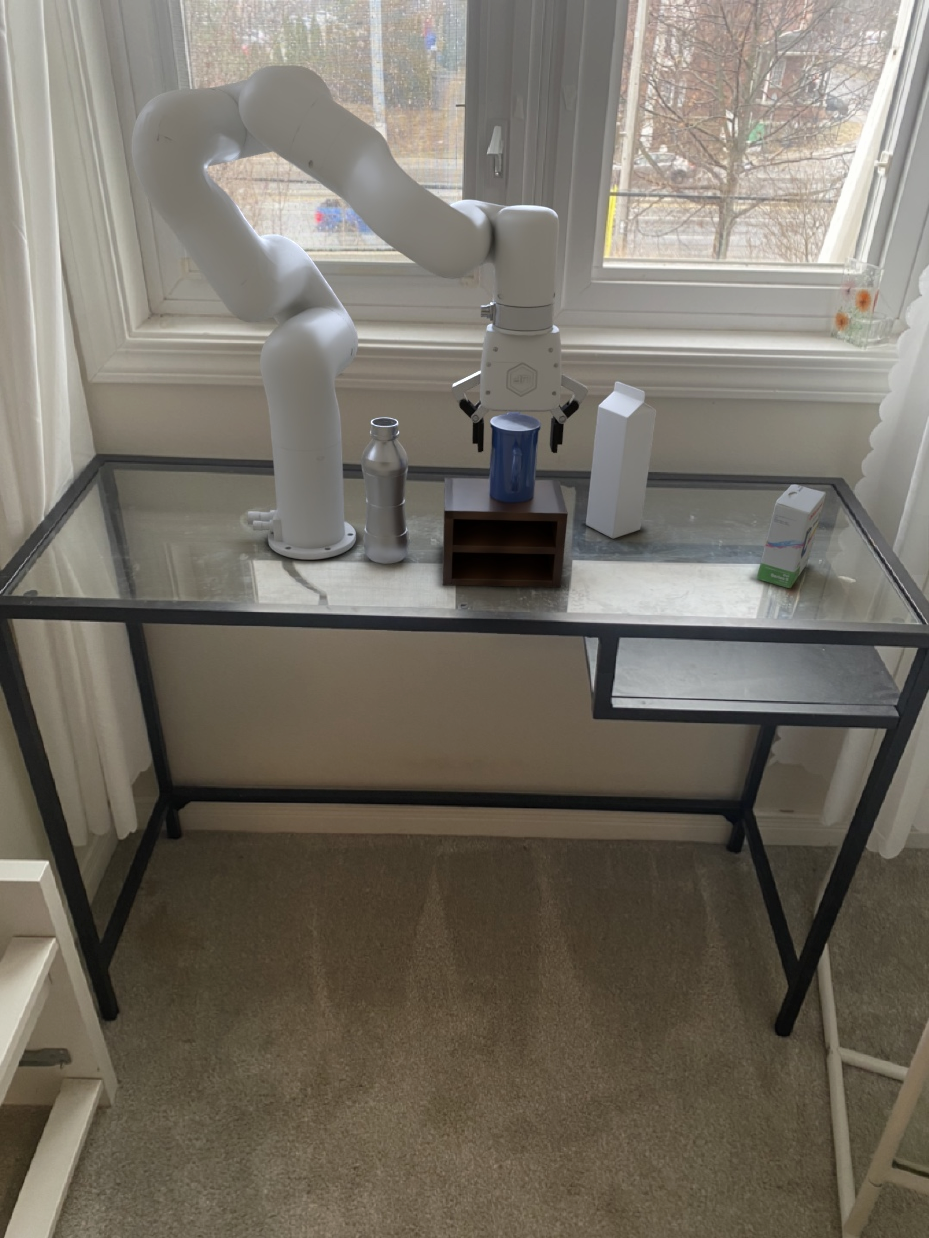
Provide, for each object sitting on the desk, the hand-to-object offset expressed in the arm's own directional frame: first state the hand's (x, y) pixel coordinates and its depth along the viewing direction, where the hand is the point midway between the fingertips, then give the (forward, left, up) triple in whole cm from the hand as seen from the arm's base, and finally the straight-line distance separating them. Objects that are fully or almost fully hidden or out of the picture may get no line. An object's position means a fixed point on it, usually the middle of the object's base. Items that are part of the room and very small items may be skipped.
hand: (516, 449), depth 126 cm
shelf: (-1, 0, -17) cm, 17 cm away
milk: (+17, +14, -18) cm, 28 cm away
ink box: (+39, 0, -18) cm, 42 cm away
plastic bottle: (-17, +2, -18) cm, 25 cm away
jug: (0, 0, -6) cm, 6 cm away
